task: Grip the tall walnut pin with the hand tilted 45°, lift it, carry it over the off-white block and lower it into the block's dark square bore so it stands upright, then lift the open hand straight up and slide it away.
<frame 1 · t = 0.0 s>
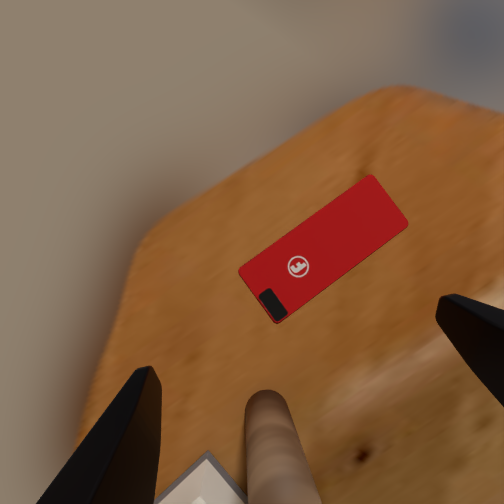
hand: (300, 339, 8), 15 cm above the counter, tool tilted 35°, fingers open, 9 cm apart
electronic device: (322, 247, 24), on the counter
walnut pin: (266, 412, 22), on the counter
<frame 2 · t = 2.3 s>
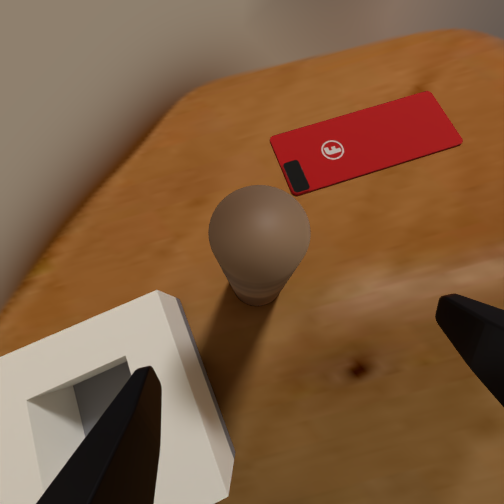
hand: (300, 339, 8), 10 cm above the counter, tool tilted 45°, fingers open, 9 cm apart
bore block: (131, 404, 17), on the counter
electronic device: (362, 145, 23), on the counter
walnut pin: (257, 280, 19), on the counter
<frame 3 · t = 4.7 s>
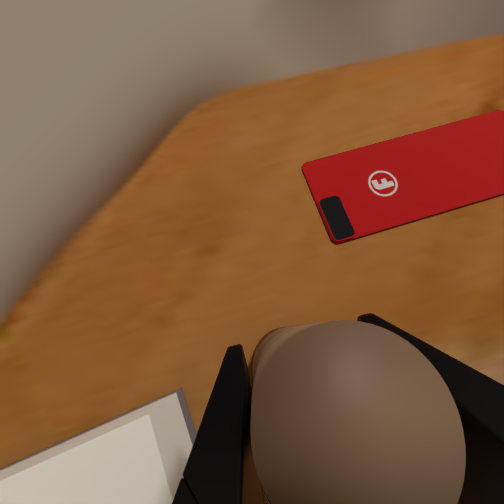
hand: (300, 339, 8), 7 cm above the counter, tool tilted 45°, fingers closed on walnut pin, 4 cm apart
electronic device: (419, 177, 18), on the counter
walnut pin: (287, 362, 14), on the counter, touching gripper
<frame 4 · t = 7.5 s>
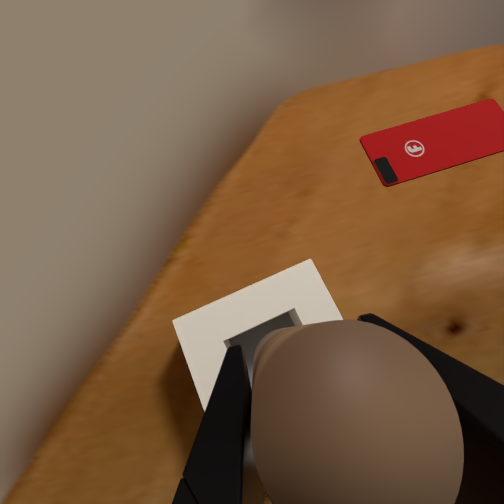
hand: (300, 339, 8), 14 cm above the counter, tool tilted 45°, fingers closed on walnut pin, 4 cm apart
bore block: (271, 356, 21), on the counter
electronic device: (437, 144, 27), on the counter
walnut pin: (287, 363, 14), point 7 cm above the counter, touching gripper
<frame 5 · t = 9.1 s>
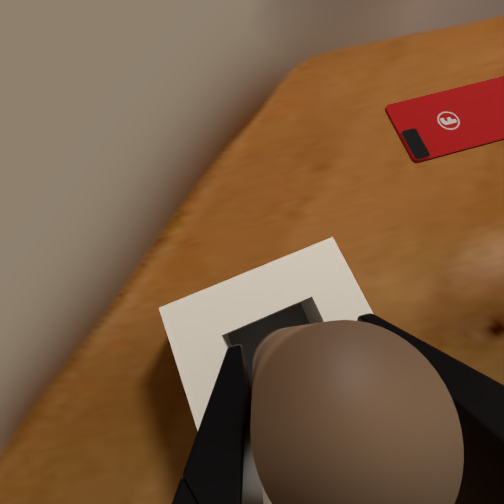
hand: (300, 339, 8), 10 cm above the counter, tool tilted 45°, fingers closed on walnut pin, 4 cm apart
bore block: (279, 355, 17), on the counter
electronic device: (473, 118, 23), on the counter
walnut pin: (287, 363, 14), point 3 cm above the counter, touching gripper
when the fingers open (9 cm above the counter, at t = 10.4 s): walnut pin drops 1 cm, resting on bore block.
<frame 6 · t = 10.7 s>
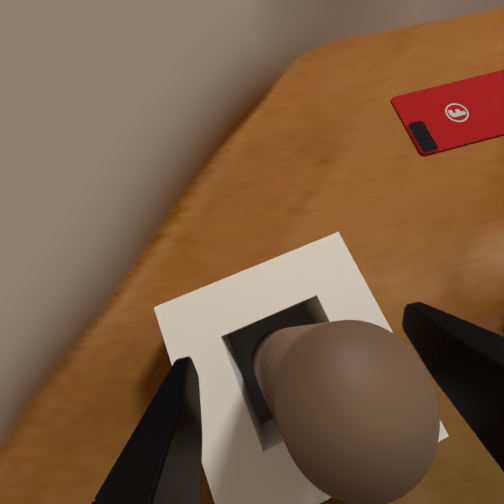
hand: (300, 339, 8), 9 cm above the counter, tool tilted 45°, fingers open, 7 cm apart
bore block: (281, 357, 17), on the counter
electronic device: (483, 110, 22), on the counter
walnut pin: (283, 361, 15), point 1 cm above the counter, touching bore block
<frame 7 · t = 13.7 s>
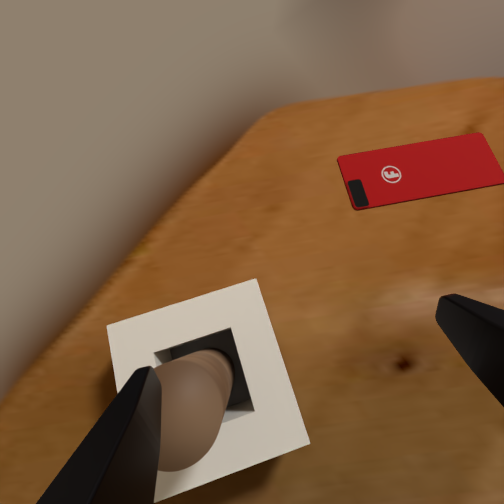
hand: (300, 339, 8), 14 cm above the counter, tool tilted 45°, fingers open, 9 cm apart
bore block: (213, 370, 21), on the counter
electronic device: (416, 173, 26), on the counter
walnut pin: (210, 373, 20), point 1 cm above the counter, touching bore block
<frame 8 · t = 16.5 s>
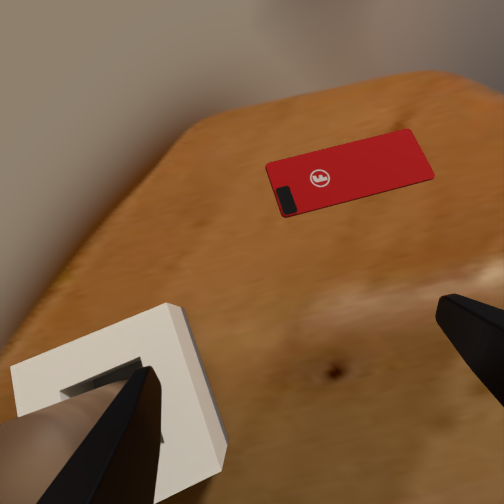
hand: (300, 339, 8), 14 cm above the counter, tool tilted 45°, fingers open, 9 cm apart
bore block: (141, 397, 20), on the counter
electronic device: (347, 174, 26), on the counter
walnut pin: (135, 402, 19), point 1 cm above the counter, touching bore block
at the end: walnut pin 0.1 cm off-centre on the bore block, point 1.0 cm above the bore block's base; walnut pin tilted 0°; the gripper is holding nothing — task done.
